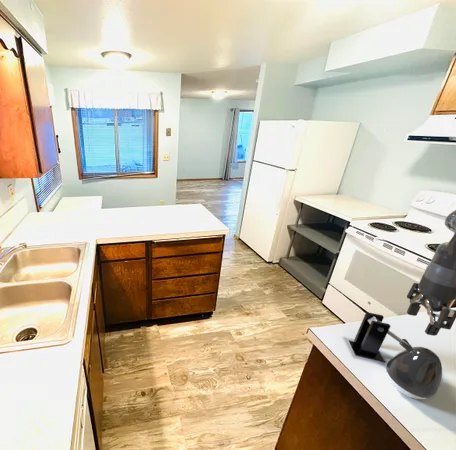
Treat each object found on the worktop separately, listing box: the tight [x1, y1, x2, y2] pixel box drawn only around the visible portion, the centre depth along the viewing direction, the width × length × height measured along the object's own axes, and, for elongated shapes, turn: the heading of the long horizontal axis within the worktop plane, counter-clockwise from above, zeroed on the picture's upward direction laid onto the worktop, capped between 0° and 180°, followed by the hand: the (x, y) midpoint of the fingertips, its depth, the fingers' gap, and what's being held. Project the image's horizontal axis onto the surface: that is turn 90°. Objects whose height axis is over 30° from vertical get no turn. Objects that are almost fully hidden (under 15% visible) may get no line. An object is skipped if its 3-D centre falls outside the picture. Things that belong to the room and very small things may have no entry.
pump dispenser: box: [385, 341, 443, 400], centre depth 66 cm, size 10×10×15 cm
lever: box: [368, 316, 413, 348], centre depth 76 cm, size 14×5×2 cm
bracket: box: [348, 311, 392, 364], centre depth 78 cm, size 8×8×14 cm
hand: (419, 323), depth 73 cm, fingers open, 8 cm apart
